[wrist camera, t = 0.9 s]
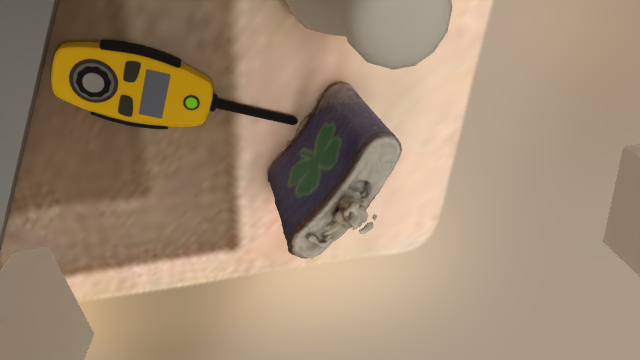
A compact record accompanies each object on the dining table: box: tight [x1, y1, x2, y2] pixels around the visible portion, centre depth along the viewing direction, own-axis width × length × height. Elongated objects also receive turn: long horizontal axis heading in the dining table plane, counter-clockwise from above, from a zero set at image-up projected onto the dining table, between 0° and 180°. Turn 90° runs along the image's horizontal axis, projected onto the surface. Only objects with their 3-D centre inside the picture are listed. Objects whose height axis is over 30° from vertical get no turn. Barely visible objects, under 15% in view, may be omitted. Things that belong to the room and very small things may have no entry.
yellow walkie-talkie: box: [51, 40, 298, 129], centre depth 30 cm, size 5×2×15 cm
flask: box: [268, 82, 402, 258], centre depth 30 cm, size 9×3×11 cm, turn 142°
